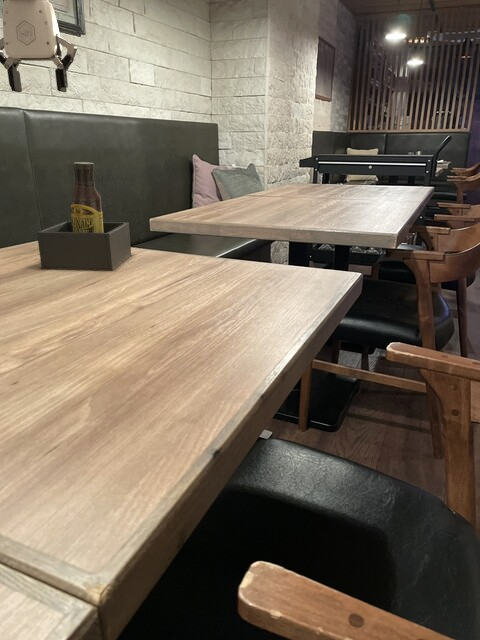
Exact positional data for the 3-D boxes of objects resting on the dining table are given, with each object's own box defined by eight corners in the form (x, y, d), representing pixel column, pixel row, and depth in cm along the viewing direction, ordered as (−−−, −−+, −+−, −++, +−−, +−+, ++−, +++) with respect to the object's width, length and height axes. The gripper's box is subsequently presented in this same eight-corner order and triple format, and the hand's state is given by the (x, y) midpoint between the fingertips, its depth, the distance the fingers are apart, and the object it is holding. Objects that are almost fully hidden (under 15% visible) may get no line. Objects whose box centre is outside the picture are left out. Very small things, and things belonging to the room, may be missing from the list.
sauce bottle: (68, 262, 103) (57, 162, 96) (86, 255, 109) (76, 161, 102) (96, 264, 101) (86, 163, 94) (112, 257, 107) (104, 162, 100)
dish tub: (41, 270, 99) (36, 232, 97) (68, 255, 112) (64, 221, 109) (112, 272, 98) (109, 233, 96) (131, 257, 111) (128, 222, 108)
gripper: (-27, -11, 93) (-11, 89, 99) (63, -12, 91) (73, 90, 97) (-5, 0, 100) (8, 93, 106) (78, -1, 98) (87, 93, 104)
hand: (39, 91), depth 101 cm, fingers open, 9 cm apart
